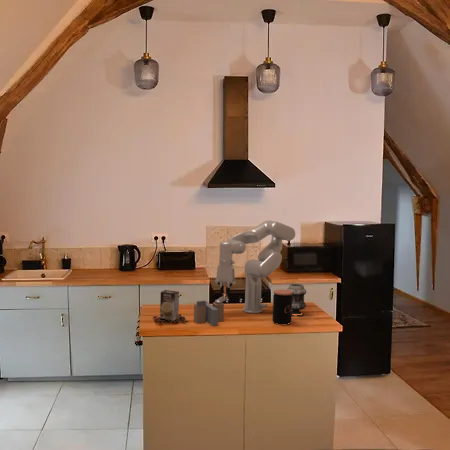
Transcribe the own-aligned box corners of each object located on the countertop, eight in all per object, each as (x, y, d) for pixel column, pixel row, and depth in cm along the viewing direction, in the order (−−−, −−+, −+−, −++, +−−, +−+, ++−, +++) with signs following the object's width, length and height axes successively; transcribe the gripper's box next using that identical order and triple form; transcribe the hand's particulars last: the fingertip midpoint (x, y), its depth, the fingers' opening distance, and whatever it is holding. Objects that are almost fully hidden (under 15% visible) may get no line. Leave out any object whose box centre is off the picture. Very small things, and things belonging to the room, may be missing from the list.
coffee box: (159, 320, 287) (159, 291, 285) (164, 317, 293) (164, 289, 291) (174, 322, 284) (174, 293, 282) (178, 319, 290) (179, 291, 288)
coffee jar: (286, 326, 281) (287, 294, 279) (268, 323, 287) (270, 291, 285) (294, 322, 290) (295, 291, 288) (277, 319, 296) (278, 288, 294)
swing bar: (220, 303, 286) (220, 289, 286) (214, 303, 288) (214, 289, 287) (228, 298, 300) (229, 285, 299) (222, 297, 301) (223, 284, 300)
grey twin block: (215, 315, 300) (216, 294, 299) (228, 324, 281) (229, 302, 280) (189, 317, 294) (190, 296, 293) (201, 327, 275) (201, 304, 274)
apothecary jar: (298, 310, 316) (300, 282, 314) (309, 315, 305) (310, 286, 303) (281, 312, 311) (282, 283, 309) (291, 317, 300) (293, 287, 298)
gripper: (240, 262, 298) (240, 293, 300) (214, 260, 303) (213, 291, 304) (237, 264, 291) (236, 296, 293) (210, 262, 295) (209, 294, 297)
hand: (225, 293), depth 299 cm, fingers closed on swing bar, 2 cm apart
